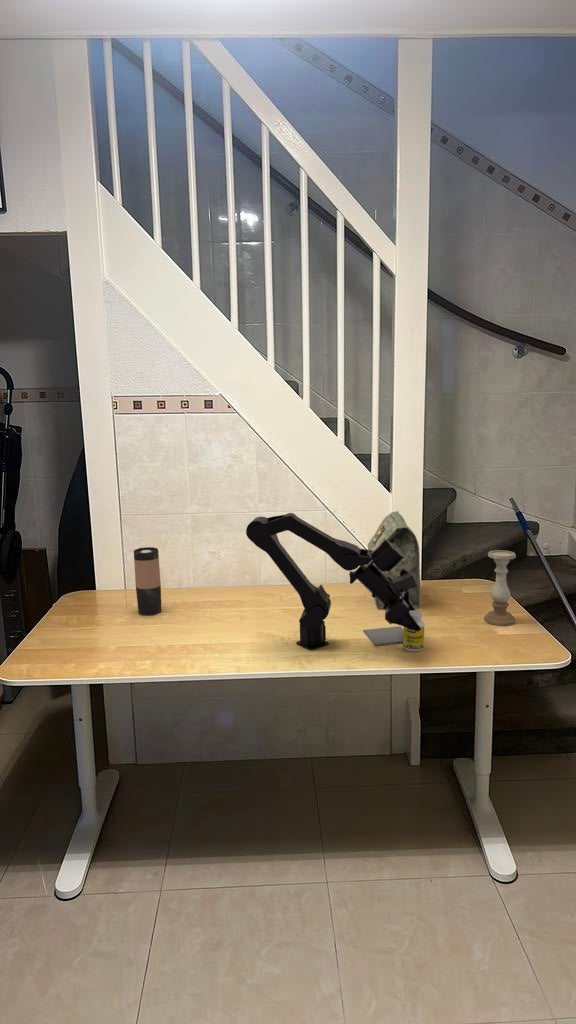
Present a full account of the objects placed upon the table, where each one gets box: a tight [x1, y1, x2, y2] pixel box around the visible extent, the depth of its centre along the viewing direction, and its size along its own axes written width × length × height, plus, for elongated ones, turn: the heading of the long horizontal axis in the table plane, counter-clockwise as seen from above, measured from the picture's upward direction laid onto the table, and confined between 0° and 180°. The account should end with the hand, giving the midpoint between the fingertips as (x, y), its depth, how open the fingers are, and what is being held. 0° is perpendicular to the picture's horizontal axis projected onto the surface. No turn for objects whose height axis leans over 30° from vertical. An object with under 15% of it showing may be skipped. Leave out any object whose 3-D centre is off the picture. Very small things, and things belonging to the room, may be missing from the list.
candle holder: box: [483, 549, 517, 627], centre depth 199 cm, size 9×9×20 cm
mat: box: [363, 625, 404, 647], centre depth 190 cm, size 11×11×1 cm
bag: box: [367, 510, 421, 609], centre depth 221 cm, size 22×16×27 cm
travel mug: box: [133, 546, 162, 617], centre depth 215 cm, size 8×8×20 cm
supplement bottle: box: [402, 610, 425, 652], centre depth 181 cm, size 5×5×10 cm
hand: (419, 624), depth 181 cm, fingers open, 8 cm apart
